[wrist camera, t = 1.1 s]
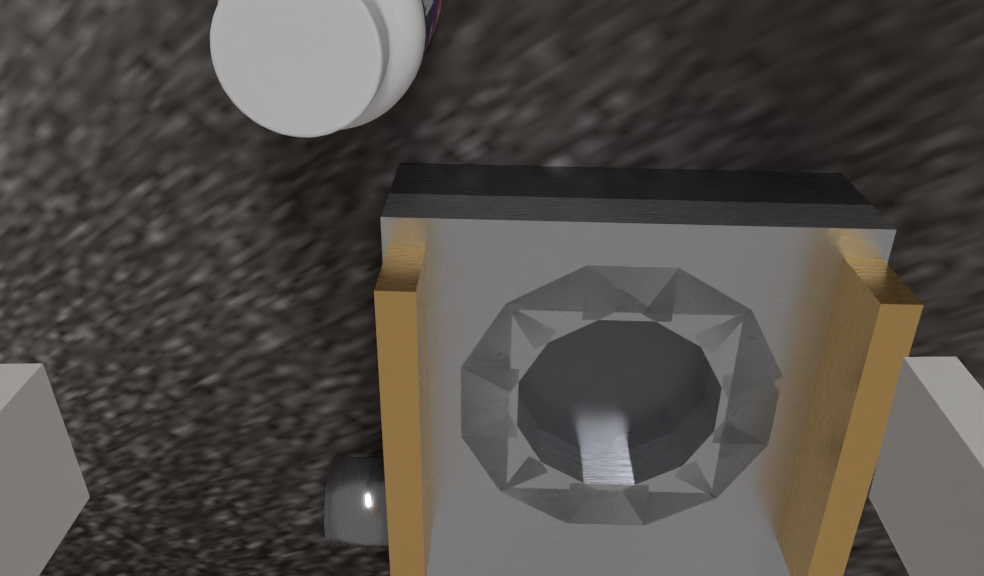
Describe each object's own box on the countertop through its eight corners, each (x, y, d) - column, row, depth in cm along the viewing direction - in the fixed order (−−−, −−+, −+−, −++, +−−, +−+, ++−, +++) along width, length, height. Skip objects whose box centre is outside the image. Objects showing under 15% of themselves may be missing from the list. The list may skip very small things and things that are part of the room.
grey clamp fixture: (318, 161, 30) (258, 256, 23) (840, 173, 30) (940, 273, 23) (352, 559, 40) (317, 713, 33) (751, 571, 39) (802, 729, 32)
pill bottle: (353, 101, 29) (286, 207, 21) (247, -31, 27) (125, 27, 19) (477, 9, 28) (459, 82, 19) (375, -139, 26) (304, -130, 17)
